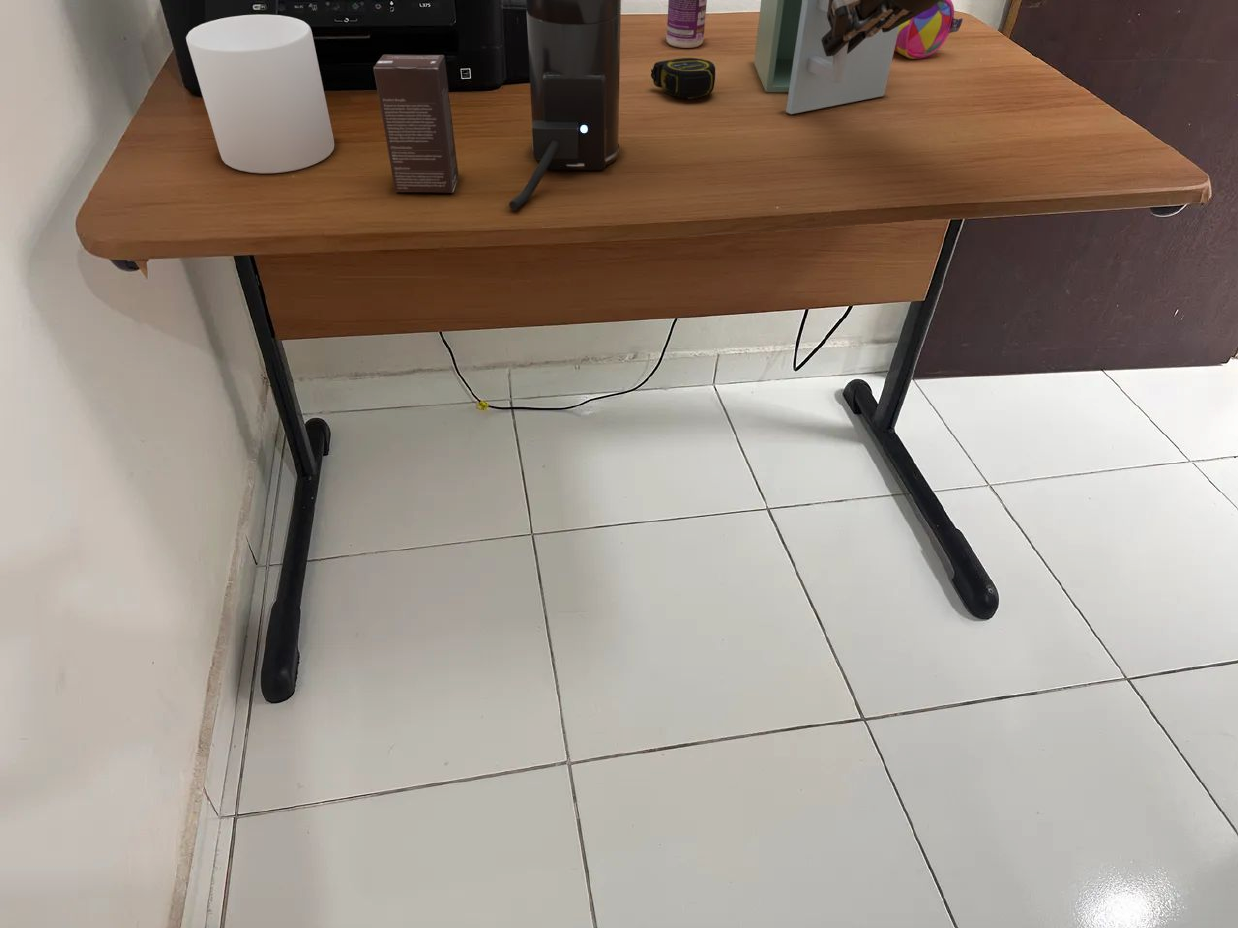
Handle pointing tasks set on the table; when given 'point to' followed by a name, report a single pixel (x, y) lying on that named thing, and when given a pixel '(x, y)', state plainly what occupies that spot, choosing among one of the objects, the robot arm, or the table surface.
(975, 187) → the table surface
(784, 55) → the cabinet
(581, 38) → the robot arm
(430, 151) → the box
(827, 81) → the cabinet door
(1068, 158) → the table surface
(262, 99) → the white cylinder
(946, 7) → the colorful pencil case
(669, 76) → the tape measure
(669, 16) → the pill bottle
